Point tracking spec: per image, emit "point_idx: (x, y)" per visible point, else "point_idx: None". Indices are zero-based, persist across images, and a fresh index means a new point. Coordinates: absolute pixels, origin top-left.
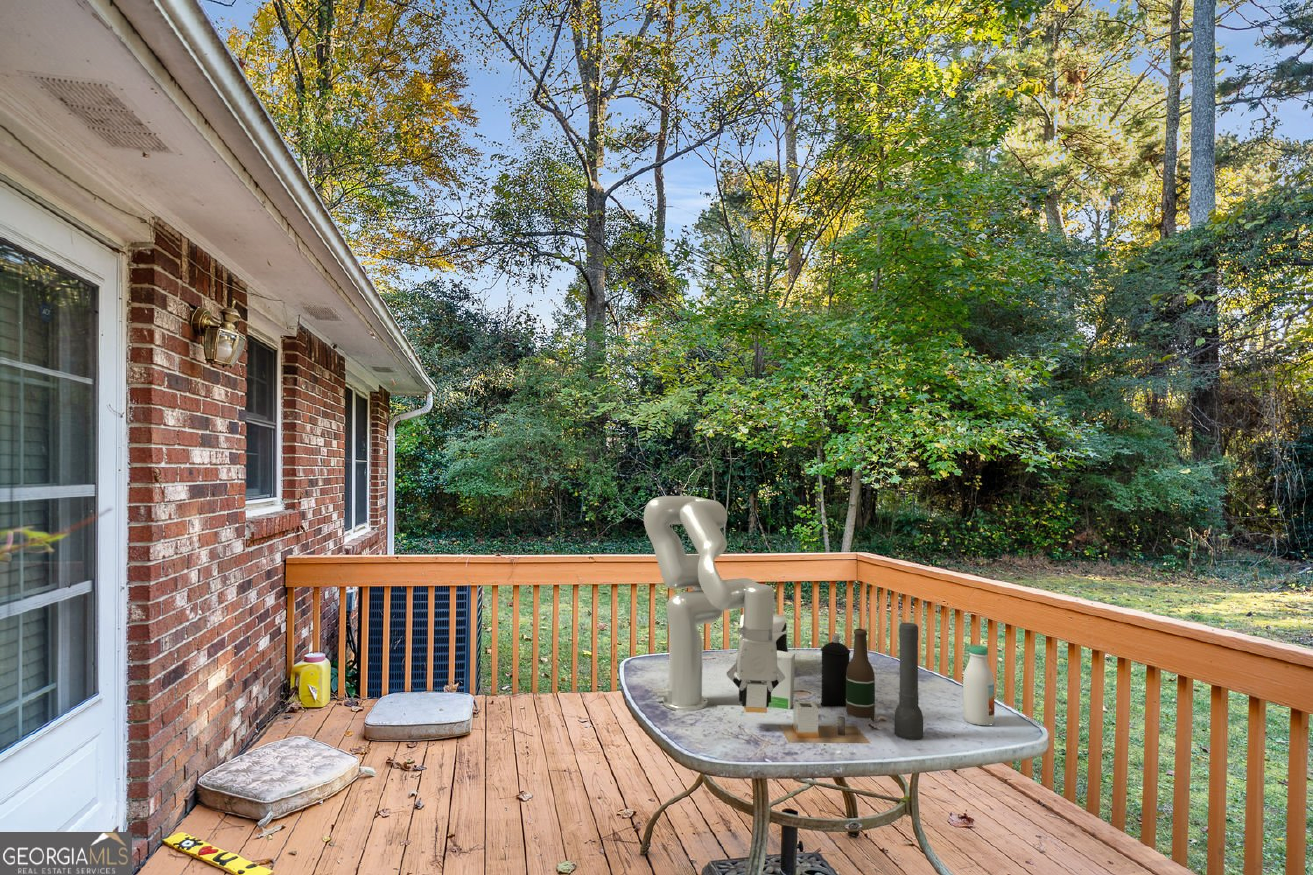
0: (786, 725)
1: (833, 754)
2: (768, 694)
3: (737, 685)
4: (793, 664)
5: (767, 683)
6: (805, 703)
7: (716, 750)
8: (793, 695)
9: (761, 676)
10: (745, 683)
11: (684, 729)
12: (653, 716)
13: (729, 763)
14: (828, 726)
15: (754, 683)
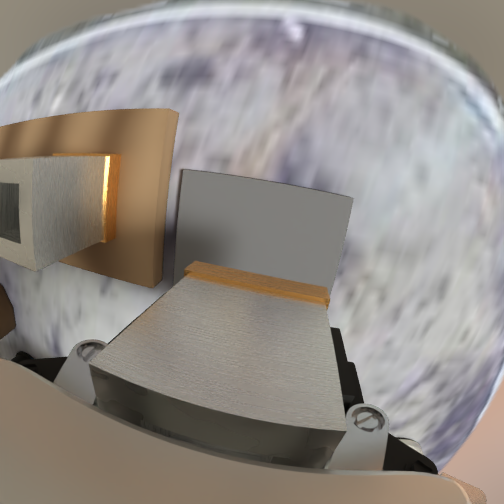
0: (128, 281)
1: (73, 81)
2: None
3: (395, 443)
4: None
5: (89, 394)
6: (5, 237)
7: (453, 148)
8: None
9: (95, 468)
10: (337, 453)
11: (468, 337)
12: (474, 408)
13: (430, 44)
14: None
15: (235, 434)
